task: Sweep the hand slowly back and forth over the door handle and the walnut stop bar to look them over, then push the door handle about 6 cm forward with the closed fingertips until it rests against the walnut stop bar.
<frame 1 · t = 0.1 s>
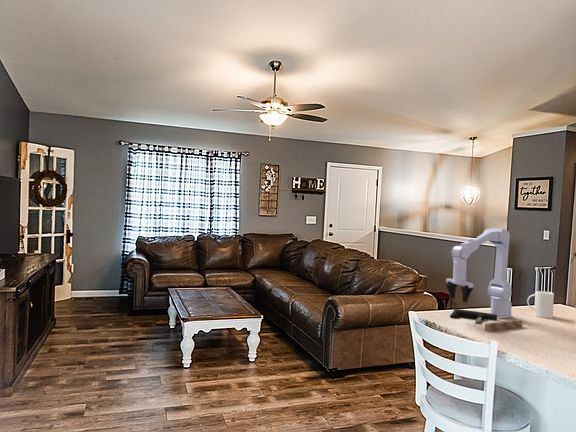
hand: (458, 300, 208), 10 cm above the countertop, tool pointing down, fingers open, 7 cm apart
mug: (539, 316, 225), on the countertop
door handle: (472, 320, 214), on the countertop
stop bar: (503, 328, 198), on the countertop
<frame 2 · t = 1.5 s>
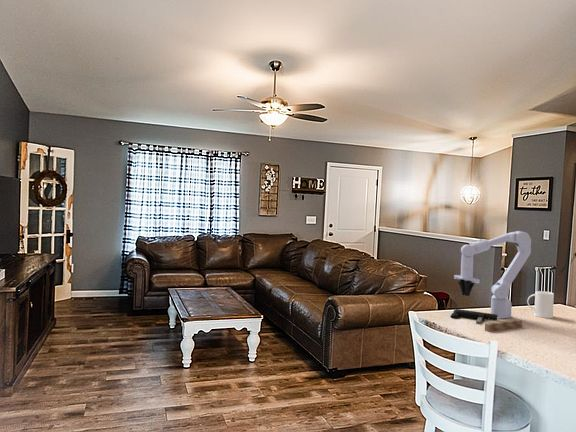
hand: (465, 295, 224), 9 cm above the countertop, tool pointing down, fingers closed
nothing on the countertop moved.
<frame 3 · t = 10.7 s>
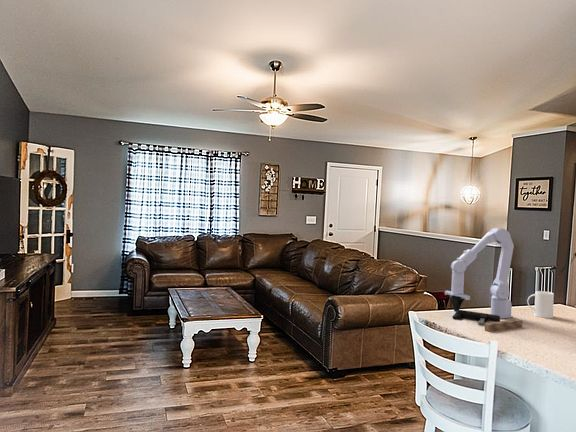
hand: (456, 311, 223), 1 cm above the countertop, tool pointing down, fingers closed
door handle: (475, 321, 212), on the countertop, touching gripper
everything else where it was.
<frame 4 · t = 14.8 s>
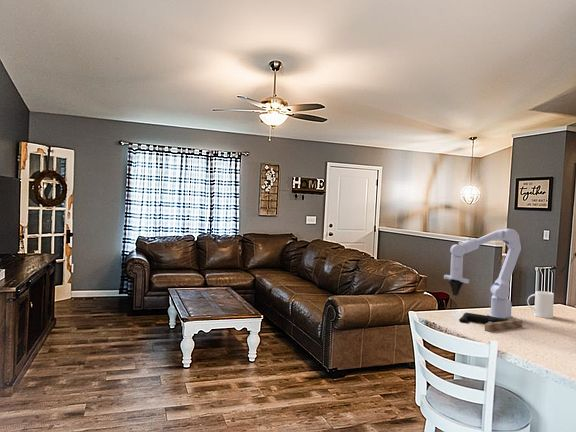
hand: (455, 295, 224), 9 cm above the countertop, tool pointing down, fingers closed
door handle: (482, 325, 206), on the countertop
everything else where it was.
at the end: door handle inside the target area (2.6 cm from its centre), on the countertop; door handle moved 8.2 cm from its start; door handle tilted 2° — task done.
